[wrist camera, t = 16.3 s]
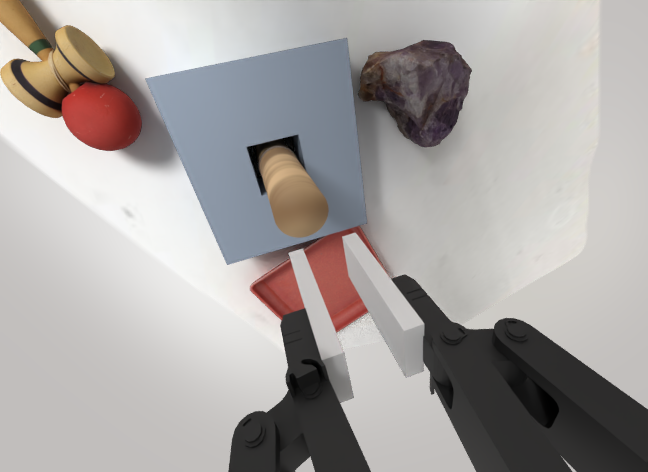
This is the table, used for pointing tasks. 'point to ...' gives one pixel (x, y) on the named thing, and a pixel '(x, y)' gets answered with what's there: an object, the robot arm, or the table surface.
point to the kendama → (69, 82)
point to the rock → (419, 88)
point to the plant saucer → (317, 281)
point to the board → (265, 139)
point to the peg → (290, 190)
